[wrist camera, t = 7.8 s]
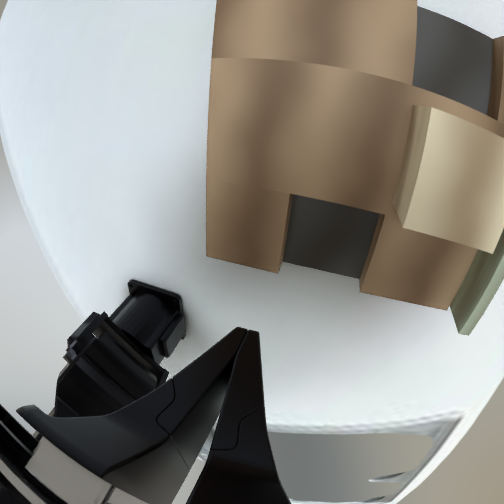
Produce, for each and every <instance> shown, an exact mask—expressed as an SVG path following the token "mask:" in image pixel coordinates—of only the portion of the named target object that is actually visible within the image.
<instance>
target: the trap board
mask: <svg viewBox="0 0 504 504" xmlns="http://www.w3.org/2000/svg"><path fill="white" fill-rule="evenodd" d="M413 105H418V106H426V107H432V108H435V109H438V110H441V111H443V112H446V113H449V114H451V115H454V116H456V117H459V118H461V119H464V120H466V121H468V122H471V123H473V124H475V125H477V126H480V127H482V128H484V129H486V130H488V131H490V132H492V133H494V134H496V135H498V136H500V137H502V138H504V36H502V37H498V38H494V39H492V38H490V37H488V36H486V35H484V34H482V33H480V32H478V31H476V30H474V29H472V28H470V27H468V26H466V25H464V24H462V23H460V22H457V21H455V20H453V19H450V18H448V17H446V16H443V15H441V14H438V13H435V12H433V11H430V10H427V9H424V8H421V7H418V6H417V0H217V4H216V13H215V23H214V35H213V46H212V60H211V74H210V91H209V110H208V135H207V172H206V256H207V257H212V258H216V259H220V260H224V261H228V262H232V263H236V264H241V265H245V266H249V267H253V268H257V269H262V270H266V271H270V272H275V273H278V272H279V270H280V267H281V264H282V262H287V263H292V264H296V265H301V266H305V267H310V268H314V269H318V270H323V271H327V272H332V273H336V274H341V275H345V276H349V277H354V278H358V279H359V282H360V292H363V293H367V294H372V295H376V296H381V297H386V298H390V299H395V300H399V301H404V302H409V303H414V304H418V305H423V306H428V307H433V308H437V309H442V310H447V309H448V307H449V306H450V308H451V311H452V314H453V317H454V320H455V323H456V327H457V330H458V333H459V334H463V335H469V334H470V333H471V332H472V330H473V329H474V327H475V326H476V324H477V323H478V321H479V320H480V318H481V317H482V315H483V313H484V312H485V310H486V309H487V307H488V305H489V304H490V302H491V300H492V299H493V297H494V295H495V293H496V292H497V290H498V288H499V286H500V284H501V283H502V281H503V279H504V228H503V231H502V233H501V236H500V238H499V241H498V243H497V245H496V248H495V250H494V252H493V254H492V253H488V252H485V251H482V250H479V249H476V248H473V247H469V246H466V245H463V244H460V243H456V242H453V241H449V240H446V239H442V238H439V237H435V236H432V235H428V234H425V233H421V232H417V231H413V230H410V229H406V228H403V227H402V224H401V222H400V219H399V217H398V214H397V212H396V210H395V207H394V205H393V203H392V202H393V199H394V195H395V191H396V187H397V183H398V179H399V175H400V170H401V166H402V162H403V157H404V152H405V147H406V142H407V137H408V132H409V126H410V120H411V114H412V108H413Z"/></svg>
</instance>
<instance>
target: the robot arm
mask: <svg viewBox="0 0 504 504" xmlns="http://www.w3.org/2000/svg"><path fill="white" fill-rule="evenodd" d="M128 288H129V292H130V295H129V296H128V297H127V298H126V299H125V300H124V301H123V303H122V304H121V305H120V306H119V307H118V308H117V309H116V310H115V311H114V312H113V314H112V315H111V316H110V317H108V315H107V314H106V313H105V311H104V312H103V313H102V314H101V315H100V314H98V313H95V312H93V313H92V314H91V315H90V316H89V317H88V318H87V319H86V320H85V321H84V322H83V323H82V325H80V327H79V328H78V329H77V330H76V331H75V332H74V333H73V334H72V335H71V336H70V337H69V339H67V341H68V348H67V350H66V351H67V353H66V354H65V356H64V357H63V358H64V359H65V360H66V361H67V362H68V364H67V365H66V366H65V367H64V369H63V370H62V371H61V372H60V374H59V377H58V380H57V387H56V398H55V407H54V408H53V410H52V411H51V412H50V413H49V415H47V414H45V413H44V412H43V411H41V410H40V409H39V408H38V407H36V406H35V405H28V406H23V407H21V408H18V409H17V410H16V412H17V413H18V414H19V415H20V416H21V417H23V419H24V420H26V422H28V423H29V424H30V425H31V426H32V427H33V428H34V429H35V430H36V432H35V433H34V434H33V436H32V435H31V434H30V433H29V432H28V431H27V430H26V429H25V428H24V427H23V426H22V425H21V424H19V422H18V421H17V420H16V419H15V418H14V417H13V416H12V415H11V414H10V413H8V411H6V410H5V408H4V407H3V406H2V405H1V404H0V504H171V503H172V502H173V500H174V498H175V496H176V495H177V493H178V491H179V489H180V487H181V485H182V484H183V482H184V480H185V478H186V477H187V475H188V473H189V471H190V469H191V467H192V465H193V464H194V462H195V460H196V458H197V456H198V454H199V452H200V451H201V449H202V447H203V445H204V443H205V441H206V439H207V437H208V435H209V433H210V431H211V429H212V427H213V426H214V424H215V422H216V420H217V418H218V416H219V419H218V423H217V426H216V430H215V433H214V437H213V441H212V444H211V448H210V451H209V455H208V458H207V461H206V464H205V466H204V468H203V470H202V472H201V474H200V476H199V479H198V480H197V482H196V484H195V487H194V488H193V490H192V492H191V495H190V496H189V498H188V500H187V503H186V504H291V502H290V500H289V498H288V496H287V494H286V492H285V490H284V488H283V486H282V484H281V481H280V479H279V476H278V472H277V469H276V465H275V461H274V457H273V453H272V449H271V445H270V441H269V437H268V431H267V425H266V417H265V407H264V391H263V378H262V364H261V351H260V337H259V332H257V331H253V330H247V329H245V328H241V327H236V328H235V329H234V330H232V331H231V332H230V333H229V334H227V335H226V336H225V337H224V338H222V339H221V340H220V341H219V342H217V343H216V344H215V345H214V346H212V347H211V348H210V349H209V350H207V351H206V352H205V353H203V354H202V355H201V356H200V357H198V358H197V359H196V360H194V361H193V362H192V363H191V364H189V365H188V366H187V367H185V368H184V369H183V370H181V371H180V372H179V373H177V374H176V375H175V376H173V379H172V378H171V379H169V380H168V381H167V382H166V379H167V377H168V374H169V372H168V371H167V370H166V369H163V368H162V367H161V366H160V365H159V364H160V363H161V361H162V360H163V358H164V357H166V358H168V357H170V355H171V354H172V352H173V350H174V349H175V347H176V346H177V344H178V343H179V341H180V340H181V339H184V338H185V336H186V334H185V332H186V329H185V321H184V315H183V311H182V303H181V298H180V296H178V295H177V294H174V293H170V292H167V291H164V290H161V289H158V288H155V287H152V286H149V285H146V284H143V283H140V282H137V281H134V280H130V281H129V282H128ZM92 333H93V334H94V335H95V336H96V337H95V336H94V335H93V334H92ZM219 414H220V415H219Z"/></svg>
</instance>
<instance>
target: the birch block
mask: <svg viewBox="0 0 504 504" xmlns="http://www.w3.org/2000/svg"><path fill="white" fill-rule="evenodd" d="M392 203H393V205H394V207H395V210H396V212H397V214H398V217H399V219H400V222H401V224H402V227H403V228H406V229H410V230H413V231H417V232H421V233H425V234H428V235H432V236H435V237H439V238H442V239H446V240H449V241H453V242H456V243H460V244H463V245H466V246H469V247H473V248H476V249H479V250H482V251H485V252H488V253H492V254H493V252H494V250H495V248H496V245H497V243H498V241H499V238H500V236H501V233H502V231H503V228H504V138H502V137H500V136H498V135H496V134H494V133H492V132H490V131H488V130H486V129H484V128H482V127H480V126H477V125H475V124H473V123H471V122H468V121H466V120H464V119H461V118H459V117H456V116H454V115H451V114H449V113H446V112H443V111H441V110H438V109H435V108H432V107H426V106H418V105H413V108H412V114H411V120H410V126H409V132H408V137H407V142H406V147H405V152H404V157H403V162H402V166H401V170H400V175H399V179H398V183H397V187H396V191H395V195H394V199H393V202H392Z"/></svg>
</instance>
